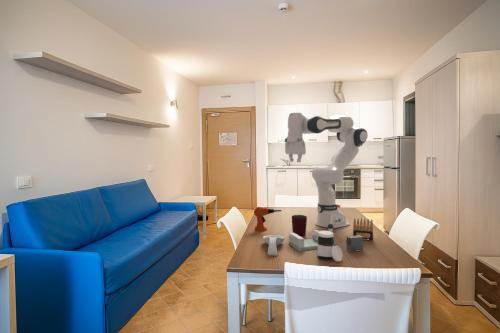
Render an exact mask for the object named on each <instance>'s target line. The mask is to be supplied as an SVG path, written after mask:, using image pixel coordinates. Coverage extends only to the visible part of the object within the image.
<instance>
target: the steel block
mask: <svg viewBox="0 0 500 333" xmlns="http://www.w3.org/2000/svg"><path fill="white" fill-rule="evenodd" d="M347 250H349V251H355V252H357V251H356V250H362V251H364V240H363V237H362V236H360V234H359V235H356V236H353V235H349V236H346V251H347ZM349 251H348V252H349Z"/></svg>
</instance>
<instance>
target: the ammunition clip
mask: <svg viewBox="0 0 500 333" xmlns="http://www.w3.org/2000/svg"><path fill="white" fill-rule="evenodd" d="M356 235H360V236H362V237H363V239H369V240H368V241H370V240H373V241H374V223H373V219H370V220H369V218H367V219H366V218H364V219H363V218H360V219H359V218H358V217H357V220H356V218H355V217H354V219H353V226H352V236H356Z"/></svg>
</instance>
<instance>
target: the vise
mask: <svg viewBox="0 0 500 333" xmlns="http://www.w3.org/2000/svg"><path fill="white" fill-rule="evenodd" d="M288 236H289V239H288V240H289V241H288V245H290V246H291V247H292V248H294V249H296V250H297V252H301V251H308V250H315V249H316V250H317V240H315V239H313V238H306V239H305V238H304V237H303V236H302V237H300V236H299V235H297V234H295V233H293V232H289V234H288ZM334 246H337V242H335V241H334Z"/></svg>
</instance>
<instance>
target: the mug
mask: <svg viewBox="0 0 500 333" xmlns="http://www.w3.org/2000/svg"><path fill="white" fill-rule="evenodd" d="M307 222H308V216H307V215H303V214H294V215H292V216H291V229H292V233H295V234H297V235H299V236H300V237H302V238H303V237H306V233H307Z"/></svg>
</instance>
